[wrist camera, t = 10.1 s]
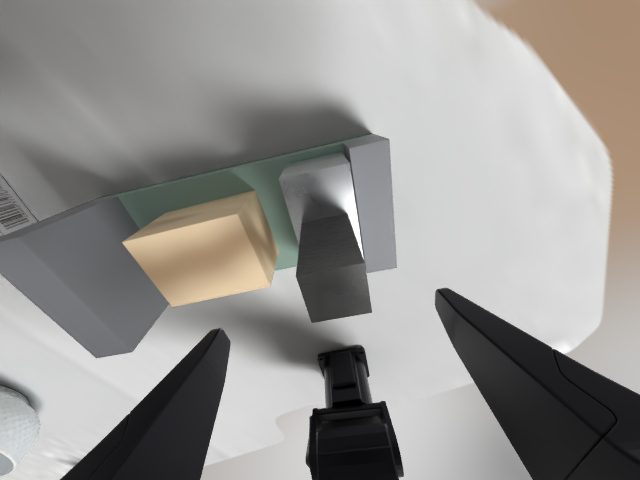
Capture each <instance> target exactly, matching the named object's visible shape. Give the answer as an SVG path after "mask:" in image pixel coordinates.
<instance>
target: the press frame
mask: <svg viewBox="0 0 640 480" xmlns="http://www.w3.org/2000/svg"><path fill="white" fill-rule="evenodd" d="M337 152H342V153H343V155H344V156H345V157H346V159H347V160H348V161H349V163H350V168H351V175H352V182H353V189H354V196H355V203H356V209H357V216H358V223H359V230H360V237H361V244H362V251H363V257H364V262H365V268H366V272H367V273H371V272H376V271H381V270H387V269H392V268H397V261H396V244H395V228H394V211H393V195H392V178H391V161H390V145H389V139H387V138H384V137H381V136H378V135H375V134H369V135H365V136H360V137H356V138H352V139H348V140H343V141H339V142H335V143H331V144H326V145H322V146H318V147H314V148H309V149H305V150H301V151H297V152H292V153H288V154H284V155H280V156H275V157H271V158H267V159H263V160H258V161H254V162H250V163H246V164H241V165H237V166H233V167H229V168H224V169H220V170H216V171H212V172H207V173H203V174H199V175H195V176H190V177H186V178H182V179H178V180H173V181H169V182H165V183H161V184H156V185H152V186H148V187H144V188H139V189H135V190H131V191H127V192H123V193H118V194H114V195H110V196H106V197H101V198H98V199H95V200H93V201H90V202H88V203H85V204H83V205H80V206H78V207H75V208H72V209H70V210H67V211H65V212H62V213H60V214H57V215H55V216H52V217H49V218H47V219H44V220H42V221H39V222H37V223H34V224H32V225H29V226H27V227H24V228H21V229H19V230H16V231H14V232H11V233H9V234H6V235H4V236H1V237H0V274H1V275H2V276H3V277H5V278H6V279H7V280H8V281H9V282H10V283H11V284H12V285H14V286H15V287H16V288H17V289H18V290H19V291H20V292H22V293H23V294H24V295H25V296H26V297H27V298H28V299H30V300H31V301H32V302H33V303H34V304H35V305H36V306H38V307H39V308H40V309H41V310H42V311H43V312H44V313H45V314H47V315H48V316H49V317H50V318H51V319H52V320H53V321H55V322H56V323H57V324H58V325H59V326H60V327H61V328H63V329H64V330H65V331H66V332H67V333H68V334H69V335H70V336H72V337H73V338H74V339H75V340H76V341H77V342H78V343H80V344H81V345H82V346H83V347H84V348H85V349H86V350H88V351H89V352H90V353H91V354H92V355H93V356H94V357H95V358H101V357H106V356H112V355H118V354H124V353H129V352H133V351H134V349H135V348H136V347H137V345H138V344H139V343H140V341H141V340H142V339H143V337H144V336H145V335H146V333H147V332H148V331H149V329H150V328H151V327H152V326H153V324H154V323H155V322H156V320H157V319H158V318H159V316H160V315H161V314H162V312H163V311H164V310H165V308H166V307H167V306H168V304H169V302H168V301H167V300H166V298H165V297H164V296H163V295H162V293H161V292H160V291H159V289H158V288H157V287H156V286H155V284H154V283H153V282H152V280H151V279H150V278H149V277H148V275H147V274H146V273H145V271H144V270H143V269H142V268H141V266H140V265H139V264H138V262H137V261H136V260H135V259H134V257H133V256H132V255H131V253H130V252H129V251H128V250H127V248H126V247H125V246H124V244H123V243H122V242H123V241H124V240H126V239H127V238H129V237H130V236H132V235H133V234H135V233H136V232H138V231H139V230H141V229H142V228H144V227H145V226H147V225H148V224H150V223H151V222H153V221H154V220H156V219H157V218H159V217H160V216H162V215H163V214H165V213H167V212H171V211H175V210H179V209H183V208H187V207H190V206H194V205H198V204H202V203H206V202H210V201H214V200H218V199H222V198H226V197H230V196H234V195H238V194H241V193H245V192H249V191H253V190H256V193H257V196H258V198H259V201H260V203H261V206H262V208H263V211H264V213H265V216H266V219H267V221H268V224H269V226H270V229H271V231H272V234H273V236H274V239H275V241H276V244H277V247H278V249H279V254H278V258H277V262H276V266H275V270H280V269H285V268H290V267H296V266H297V261H298V251H299V244H298V241H297V238H296V235H295V231H294V228H293V225H292V221H291V218H290V215H289V212H288V208H287V205H286V202H285V198H284V195H283V192H282V189H281V185H280V182H279V178H280V176H281V174H282V172H283V170H284V168H285V166H286V164H290V163H294V162H298V161H303V160H307V159H311V158H316V157H320V156H324V155H329V154H333V153H337ZM275 270H274V271H275Z"/></svg>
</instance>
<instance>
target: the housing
mask: <svg viewBox="0 0 640 480" xmlns="http://www.w3.org/2000/svg"><path fill="white" fill-rule="evenodd" d="M122 243H123V244H124V246H125V247H126V248H127V250H128V251H129V252H130V253H131V255H132V256H133V257H134V259H135V260H136V261H137V262H138V264H139V265H140V266H141V268H142V269H143V270H144V271H145V273H146V274H147V275H148V277H149V278H150V279H151V280H152V282H153V283H154V284H155V286H156V287H157V288H158V289H159V291H160V292H161V293H162V295H163V296H164V297H165V298H166V300H167V301H168V302H169V304H170V305H171V306H172V307H176V306H181V305H186V304H190V303H195V302H200V301H205V300H209V299H214V298H219V297H223V296H228V295H233V294H238V293H242V292H247V291H252V290H256V289H261V288H266V287H270V286H271V283H272V279H273V274H274V270H275V266H276V262H277V258H278V254H279V249H278V247H277V244H276V241H275V239H274V236H273V234H272V231H271V229H270V226H269V224H268V221H267V219H266V216H265V213H264V211H263V208H262V206H261V203H260V201H259V198H258V196H257V193H256V190H253V191H249V192H245V193H241V194H238V195H234V196H230V197H226V198H222V199H218V200H214V201H210V202H206V203H202V204H198V205H194V206H190V207H187V208H183V209H179V210H175V211H171V212H167V213H165V214H163V215H162V216H160V217H159V218H157V219H156V220H154V221H153V222H151V223H150V224H148V225H147V226H145V227H144V228H142V229H141V230H139V231H138V232H136V233H135V234H133V235H132V236H130V237H129V238H127V239H126V240H124V241H123V242H122Z"/></svg>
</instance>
